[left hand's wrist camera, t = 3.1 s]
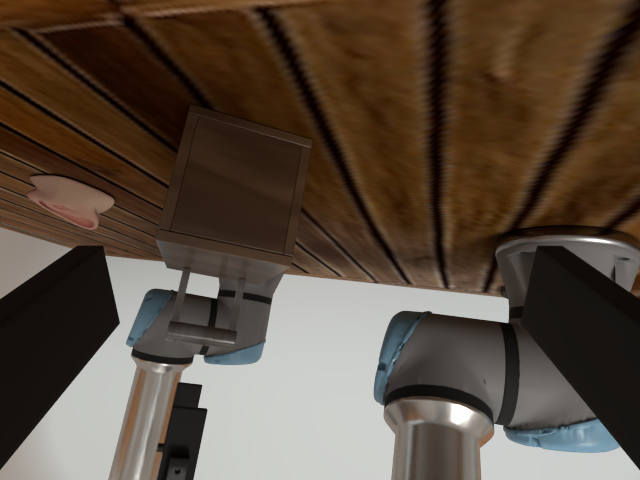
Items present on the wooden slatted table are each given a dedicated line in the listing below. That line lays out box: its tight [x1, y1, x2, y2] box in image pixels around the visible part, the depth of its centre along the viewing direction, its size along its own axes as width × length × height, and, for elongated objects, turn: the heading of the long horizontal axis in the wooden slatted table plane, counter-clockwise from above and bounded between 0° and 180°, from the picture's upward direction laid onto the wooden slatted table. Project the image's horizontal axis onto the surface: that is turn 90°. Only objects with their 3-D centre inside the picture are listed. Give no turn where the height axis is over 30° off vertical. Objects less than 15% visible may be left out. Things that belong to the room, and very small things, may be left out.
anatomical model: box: [27, 175, 114, 230], centre depth 59 cm, size 13×4×12 cm
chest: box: [159, 104, 313, 257], centre depth 38 cm, size 15×10×10 cm, turn 162°
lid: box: [155, 229, 293, 349], centre depth 36 cm, size 16×10×8 cm, turn 162°
